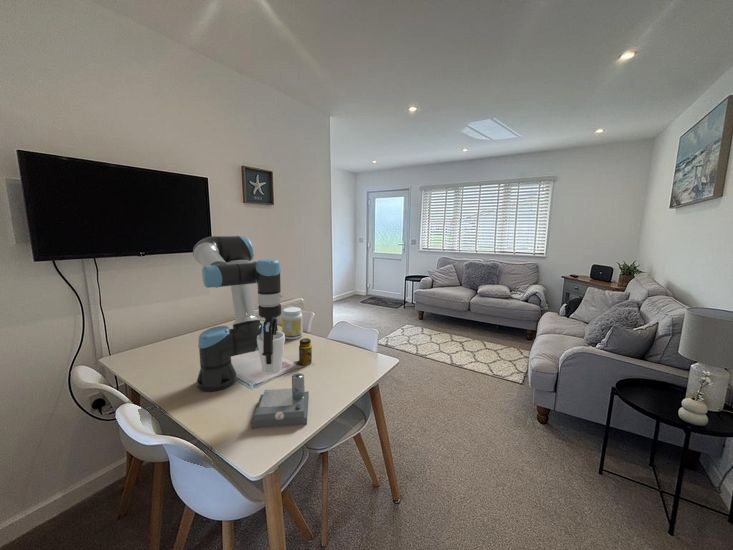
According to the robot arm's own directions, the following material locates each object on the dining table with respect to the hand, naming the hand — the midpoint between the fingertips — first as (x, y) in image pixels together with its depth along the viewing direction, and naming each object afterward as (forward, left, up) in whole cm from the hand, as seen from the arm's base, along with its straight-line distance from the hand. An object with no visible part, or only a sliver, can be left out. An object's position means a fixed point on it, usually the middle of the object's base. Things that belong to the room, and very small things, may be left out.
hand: (272, 364), depth 105 cm
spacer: (+9, 0, -13) cm, 16 cm away
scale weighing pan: (+3, 0, -14) cm, 15 cm away
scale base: (+3, -2, -17) cm, 18 cm away
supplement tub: (0, +72, -18) cm, 74 cm away
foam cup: (0, 0, -2) cm, 2 cm away
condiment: (+9, +36, -18) cm, 41 cm away
